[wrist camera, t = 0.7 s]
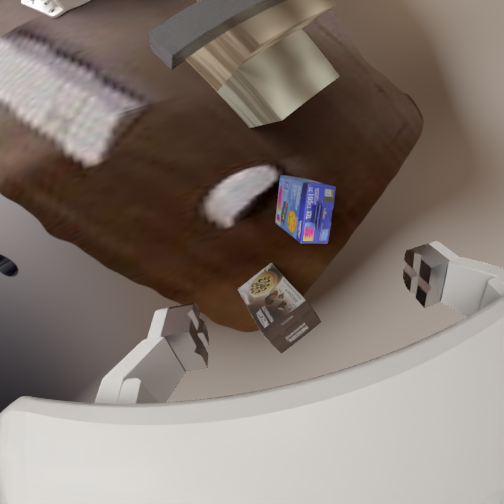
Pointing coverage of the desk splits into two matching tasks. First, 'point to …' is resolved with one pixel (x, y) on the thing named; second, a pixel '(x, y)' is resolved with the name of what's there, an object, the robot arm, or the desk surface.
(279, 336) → the coffee box
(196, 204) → the desk surface
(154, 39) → the bar
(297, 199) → the ink cartridge box
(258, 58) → the stepped stand
